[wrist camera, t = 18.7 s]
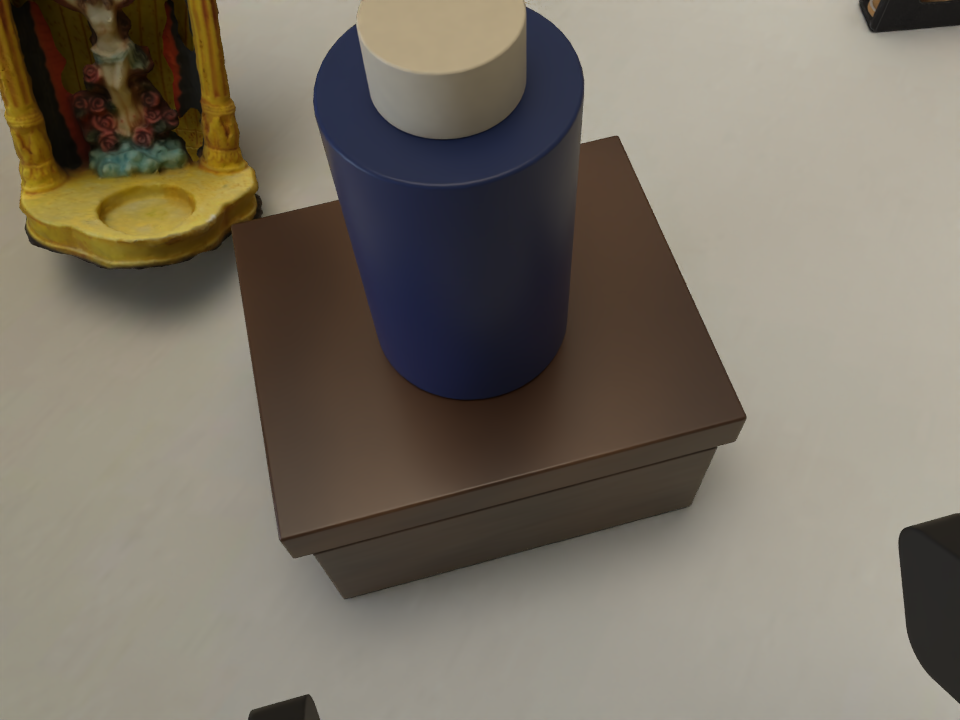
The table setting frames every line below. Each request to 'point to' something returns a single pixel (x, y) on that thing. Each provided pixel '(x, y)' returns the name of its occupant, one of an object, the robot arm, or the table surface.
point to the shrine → (123, 129)
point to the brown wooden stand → (478, 401)
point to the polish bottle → (457, 184)
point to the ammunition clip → (910, 13)
